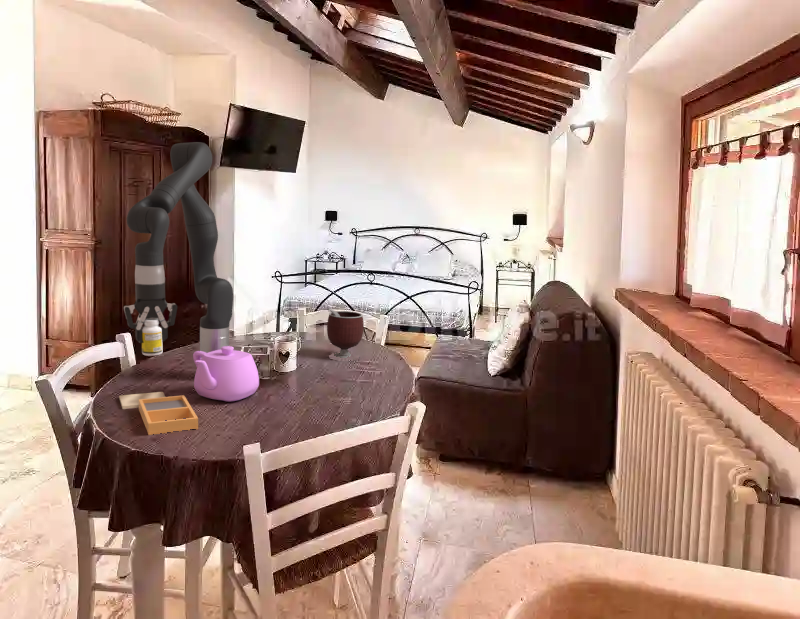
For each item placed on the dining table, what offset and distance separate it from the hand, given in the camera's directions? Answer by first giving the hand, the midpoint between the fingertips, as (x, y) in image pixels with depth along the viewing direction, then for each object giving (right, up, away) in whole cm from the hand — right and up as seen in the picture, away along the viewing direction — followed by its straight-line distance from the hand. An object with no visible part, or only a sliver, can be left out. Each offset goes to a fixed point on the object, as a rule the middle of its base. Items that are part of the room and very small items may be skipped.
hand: (151, 341), depth 176 cm
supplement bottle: (0, -4, +1) cm, 4 cm away
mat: (-5, -18, +7) cm, 20 cm away
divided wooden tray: (+6, -21, -6) cm, 22 cm away
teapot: (+16, -18, +16) cm, 29 cm away
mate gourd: (+47, -10, +69) cm, 83 cm away
